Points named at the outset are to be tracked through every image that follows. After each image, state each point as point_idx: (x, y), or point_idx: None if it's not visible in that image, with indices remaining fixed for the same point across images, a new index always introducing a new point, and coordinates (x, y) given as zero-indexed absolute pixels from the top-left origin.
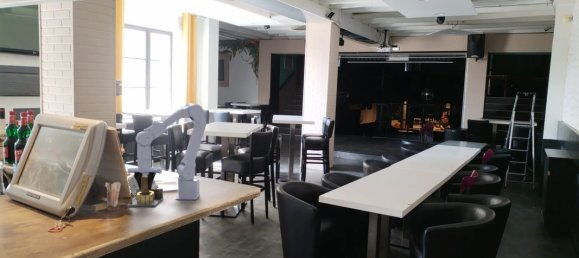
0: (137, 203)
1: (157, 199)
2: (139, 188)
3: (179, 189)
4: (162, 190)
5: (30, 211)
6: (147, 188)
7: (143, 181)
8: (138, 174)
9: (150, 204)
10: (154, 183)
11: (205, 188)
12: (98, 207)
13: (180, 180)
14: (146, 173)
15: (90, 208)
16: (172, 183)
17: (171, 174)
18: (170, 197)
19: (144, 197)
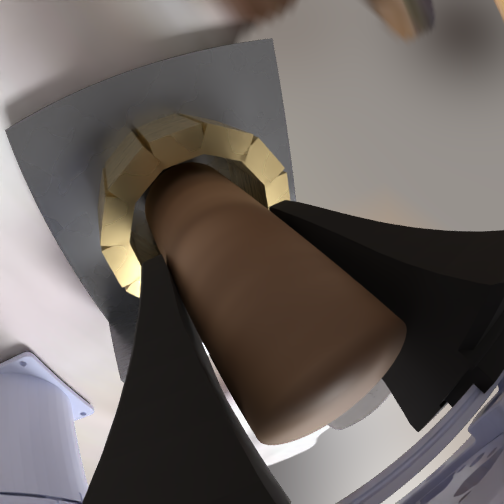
0: (202, 91)
1: (106, 270)
2: (290, 202)
3: (28, 426)
4: (120, 370)
5: (501, 9)
6: (173, 248)
7: (290, 278)
8: (483, 336)
9: (54, 118)
10: None
11: (89, 472)
12: (405, 24)
13: (44, 494)
14: (358, 418)
15: (423, 11)
16: (250, 438)
17: (297, 448)
18: (103, 362)
19: (147, 135)
